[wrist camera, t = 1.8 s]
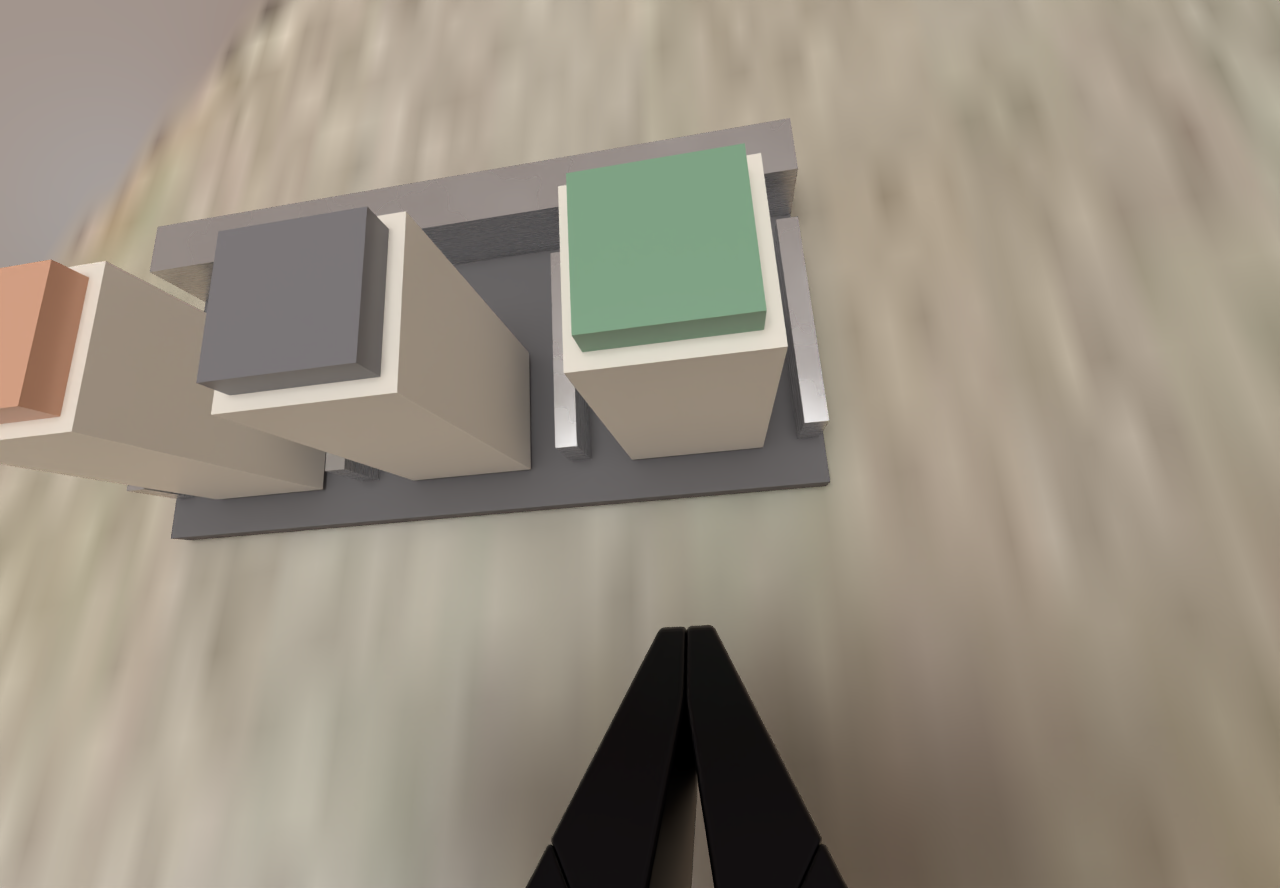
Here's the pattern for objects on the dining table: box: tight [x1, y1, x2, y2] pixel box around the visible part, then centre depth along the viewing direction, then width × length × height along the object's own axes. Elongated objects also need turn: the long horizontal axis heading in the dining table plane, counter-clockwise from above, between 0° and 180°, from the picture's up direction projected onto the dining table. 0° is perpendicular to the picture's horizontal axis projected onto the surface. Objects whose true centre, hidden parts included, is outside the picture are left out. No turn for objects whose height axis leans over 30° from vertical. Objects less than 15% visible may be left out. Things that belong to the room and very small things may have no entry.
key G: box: [558, 143, 788, 460], centre depth 15 cm, size 4×4×9 cm
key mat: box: [171, 215, 830, 540], centre depth 22 cm, size 12×24×1 cm, turn 94°
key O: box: [0, 260, 326, 499], centre depth 17 cm, size 4×4×9 cm
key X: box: [196, 206, 531, 481], centre depth 16 cm, size 4×4×9 cm
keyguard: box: [127, 118, 829, 499], centre depth 20 cm, size 10×24×2 cm, turn 94°
